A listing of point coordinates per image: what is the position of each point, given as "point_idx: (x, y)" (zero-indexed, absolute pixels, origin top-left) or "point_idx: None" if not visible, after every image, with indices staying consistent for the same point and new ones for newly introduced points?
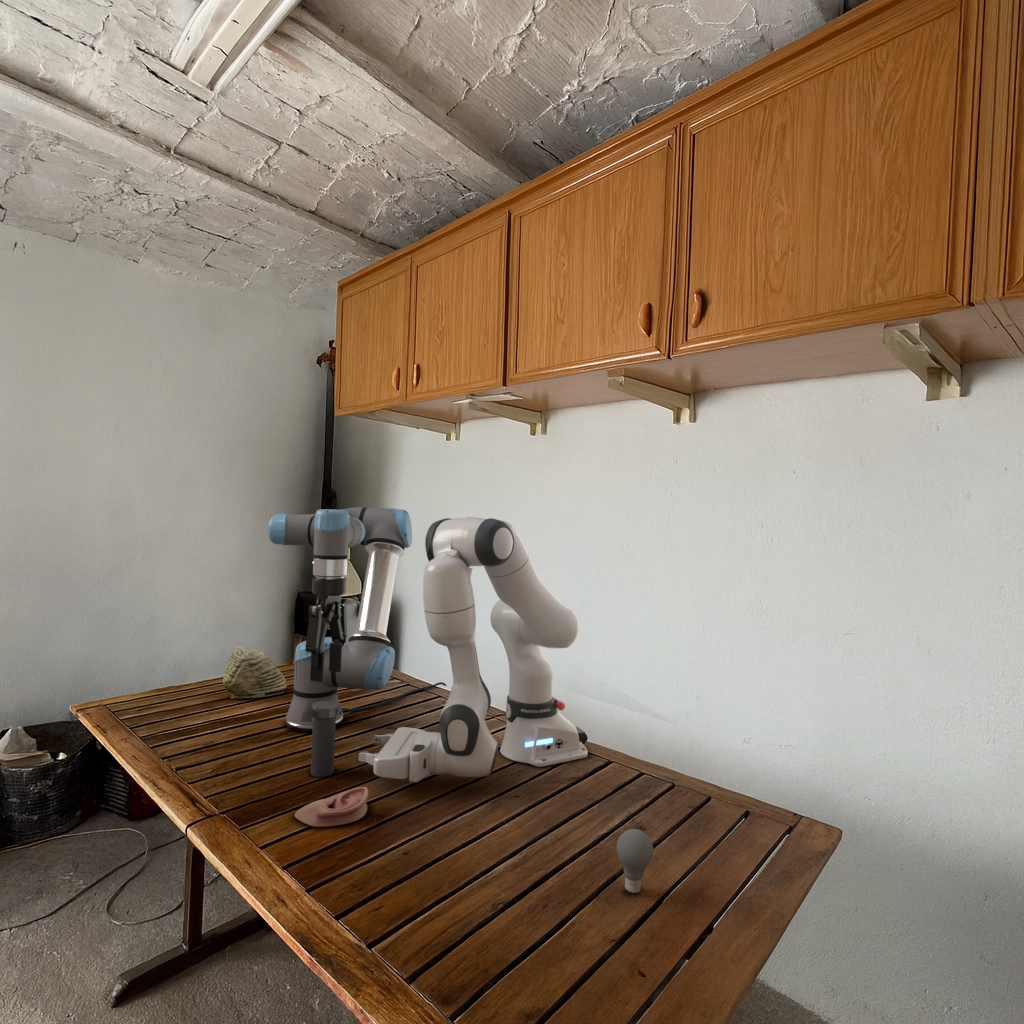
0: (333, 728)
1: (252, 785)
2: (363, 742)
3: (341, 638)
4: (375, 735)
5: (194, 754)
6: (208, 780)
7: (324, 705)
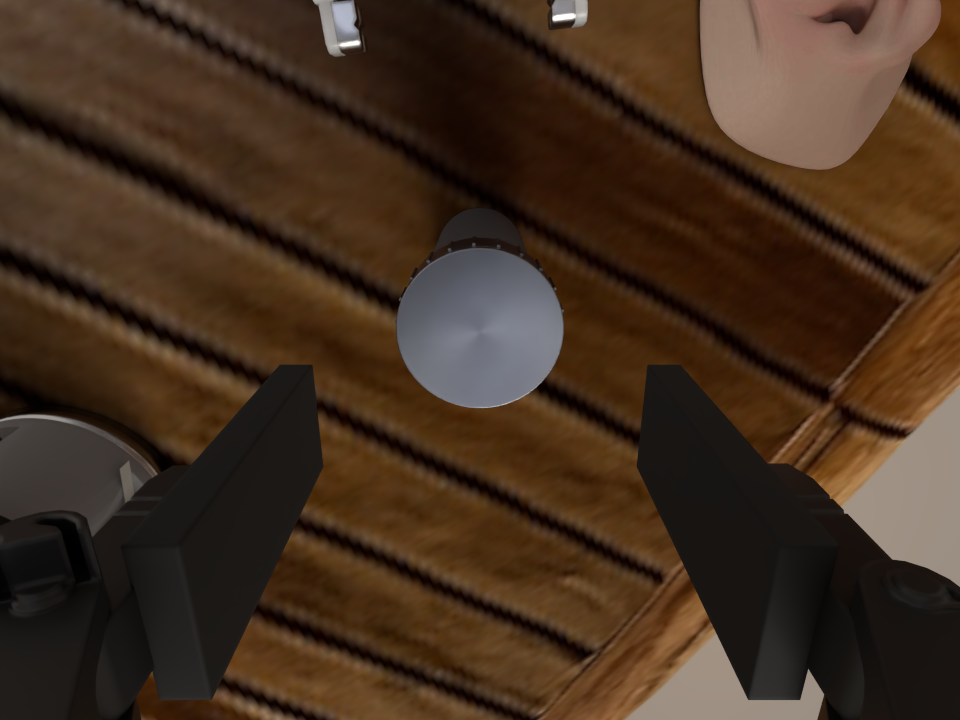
0: (486, 236)
1: (637, 417)
2: (151, 230)
3: (57, 633)
4: (329, 41)
5: (481, 674)
6: (633, 547)
7: (492, 327)
